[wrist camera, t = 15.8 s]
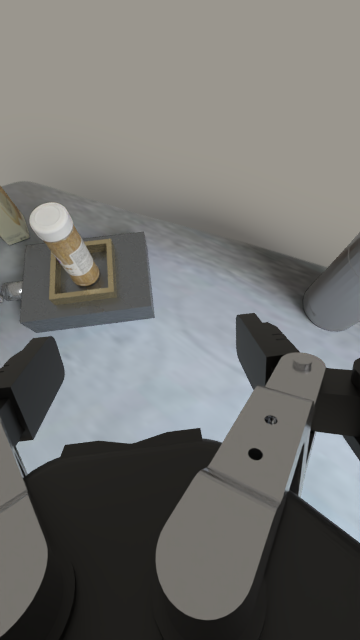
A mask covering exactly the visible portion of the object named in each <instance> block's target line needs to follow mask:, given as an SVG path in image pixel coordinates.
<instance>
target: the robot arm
mask: <svg viewBox="0 0 360 640" xmlns="http://www.w3.org/2000/svg"><path fill="white" fill-rule="evenodd" d="M303 306H304V310H305V313H306V315H307V316H308V318H309V319H310V320H311V321H312V322H313V323H314V324H315V325H317V326H318V327H320V328H322V329H325V330H328V331H343V330H345V329H348V328H350V327H351V326H353V325H355V324H356V323H358V322H360V233H359V234H358V235H357V236H356V237H355V238H354V239H353V240H352V242H351V243H350V244H349V245H348V246H347V247H346V248H345V249H344V250H343V252H342V253H341V254H340V255H339V256H338V257H337V258H336V259H335V260H334V261H333V262H332V263H331V265H330V266H329V267H328V268H327V269H326V270H325V271H324V272H323V273H322V274H321V275H320V277H319V278H318V279H317V280H316V281H315V282H314V283H313V284H312V285H311V286H310V288H309V289H308V290H307V291H306V293H305V295H304V298H303ZM236 349H237V355H238V359H239V361H240V363H241V365H242V367H243V369H244V371H245V373H246V376H247V378H248V380H249V382H250V384H251V386H252V388H253V390H254V391H253V393H252V394H251V396H250V398H249V399H248V401H247V403H246V404H245V406H244V408H243V409H242V411H241V413H240V414H239V416H238V418H237V419H236V421H235V423H234V424H233V426H232V428H231V429H230V431H229V433H228V434H227V436H226V438H225V439H224V441H223V443H221V442H218V441H214V440H209V439H202V435H201V430H200V428H196V429H188V430H180V431H172V432H166V433H163V434H160V435H157V436H154V437H151V438H148V439H145V440H142V441H140V442H137V443H133V444H127V443H116V442H106V441H93V442H85V443H77V444H69V445H65V446H64V449H63V451H62V454H61V457H59V458H56V459H54V460H52V461H49V462H47V463H45V464H43V465H42V466H40V467H38V468H37V469H35V470H33V471H32V472H30V473H29V474H27V471H26V469H25V467H24V464H23V462H22V459H21V457H20V455H19V452H18V450H17V448H16V445H17V443H18V442H19V441H27V440H33V439H34V437H35V435H36V433H37V431H38V429H39V427H40V426H41V424H42V422H43V420H44V418H45V416H46V414H47V412H48V410H49V408H50V406H51V404H52V402H53V400H54V398H55V396H56V394H57V392H58V390H59V388H60V386H61V384H62V382H63V380H64V375H65V372H64V366H63V363H62V360H61V356H60V353H59V350H58V347H57V344H56V341H55V339H54V338H53V337H52V336H48V337H40V338H33V339H32V340H31V341H30V342H29V343H28V344H27V345H26V347H25V348H24V349H23V350H22V351H20V352H19V353H17V354H16V355H14V356H13V357H11V358H10V359H9V360H8V361H7V362H6V363H5V365H4V367H2V368H1V369H0V640H360V543H359V542H358V541H357V540H355V539H354V538H353V537H351V536H350V535H349V534H347V533H346V532H345V531H343V530H342V529H341V528H339V527H338V526H337V525H336V524H334V523H333V522H332V521H330V520H329V519H328V518H326V517H325V516H324V515H322V514H321V513H320V512H318V511H317V510H316V509H315V508H313V507H312V506H311V505H309V504H308V503H307V502H305V501H304V500H303V499H301V493H302V488H303V482H304V478H305V473H306V469H307V466H308V462H309V458H310V454H311V450H312V447H313V443H314V439H315V435H316V432H324V433H331V434H339V435H343V437H344V438H345V440H346V441H347V443H348V444H349V446H350V447H351V449H352V450H353V452H354V453H355V455H356V456H357V458H358V459H359V460H360V358H359V359H357V360H355V362H354V364H353V369H352V370H342V369H330V368H326V366H325V363H324V362H323V361H322V360H321V359H319V358H318V357H316V356H314V355H311V354H307V353H300V352H299V351H298V350H297V349H296V347H295V346H294V345H293V344H292V343H291V342H290V341H289V340H288V339H287V337H286V336H285V335H284V334H282V332H281V331H280V330H279V329H278V327H276V326H274V325H272V324H270V323H268V322H266V323H262V322H261V320H260V319H259V318H258V317H257V316H256V314H255V313H250V314H241V315H237V317H236Z"/></svg>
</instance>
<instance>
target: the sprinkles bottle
mask: <svg viewBox="0 0 360 640" xmlns="http://www.w3.org/2000/svg"><path fill="white" fill-rule="evenodd" d="M29 223H30V226H31V228H32V229H33V231H34V232H35V233H36V235H37V236H38V237H39V238H40V239H42V240H43V241H44V242H45V243H46V245H47V246H48V247H49V249H50V250H51V251H52V253H53V255H54V256H55V257H56V259H57V260H58V261H59V263H60V264H61V265H62V267H63V268H64V269H65V271H66V272H67V273H68V274H69V275H70V277H71V279H72V281H73V282H74V283H75V284H77V285H79V286H89V285H91V284H93V283H94V282H95V281H96V280H97V279H98V277H99V269H98V267H97V265H96V264H95V263H94V261H93V259H92V256H91V255H90V253H89V251H88V249H87V247H86V245H85V244H84V242H83V240H82V238H81V236H80V235H79V234H78V232H77V230H76V228H75V227H74V225H73V221H72V218H71V216H70V215H69V213H68V211H67V210H66V208H65V207H64V206H62V205H61V204H58V203H54V202H49V203H44V204H42V205H40V206H38V207H37V208H35V209H34V210H33V212H32V213H31V215H30V218H29Z"/></svg>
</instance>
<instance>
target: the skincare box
mask: <svg viewBox="0 0 360 640" xmlns="http://www.w3.org/2000/svg"><path fill="white" fill-rule="evenodd" d="M0 237H1V238H2V239H3V240H4V241H5V242H6V243H7V244H8V245H11V244H14V243H17V242H20V241H23V240H25V239H28V238H30V235H29V231H28V228H27V225H26V222H25V219H24V216H23V215H22V213H21V212H20V211H19V210H18V208H17V207H16V206H15V204H14V203H13V202H12V201H11V199H10V198H9V197H8V195H7V194H6V193H5V191H4V190H3V189H2V187H1V186H0Z"/></svg>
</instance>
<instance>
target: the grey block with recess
mask: <svg viewBox="0 0 360 640" xmlns="http://www.w3.org/2000/svg"><path fill="white" fill-rule="evenodd" d="M82 240H83V242H84V244H85V245H86V247H87V249H88V251H89V253H90V255H91V256H92V259H93V261H94V263H95V264H96V265H97V267H98V269H99V277H98V279H97V280H96V281H95V282H94V283H93V284H91V285H89V286H79V285H77V284H75V283H74V282H73V281H72V279H71V277H70V275H69V274H68V273H67V272H66V271H65V269H64V268H63V267H62V265H61V264H60V263H59V261H58V260H57V259H56V257H55V256H54V255H53V253H52V251H51V250H50V249H49V247H48V246H47V245H46V243H43V244H34V245H26V250H25V263H24V276H23V281H18V282H10V283H4V284H3V285H2V295H3V297H4V298H5V299H6V300H7V301H12V300H20V299H22V302H21V315H20V323H21V324H23V325H25V326H26V327H28V328H29V329H31V330H33V331H34V332H36V333H39V332H47V331H55V330H63V329H70V328H78V327H86V326H94V325H102V324H110V323H118V322H125V321H133V320H141V319H149V318H155V316H154V307H153V297H152V288H151V278H150V269H149V260H148V250H147V245H146V240H145V235H144V232H137V233H129V234H120V235H111V236H103V237H94V238H86V239H82Z"/></svg>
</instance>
